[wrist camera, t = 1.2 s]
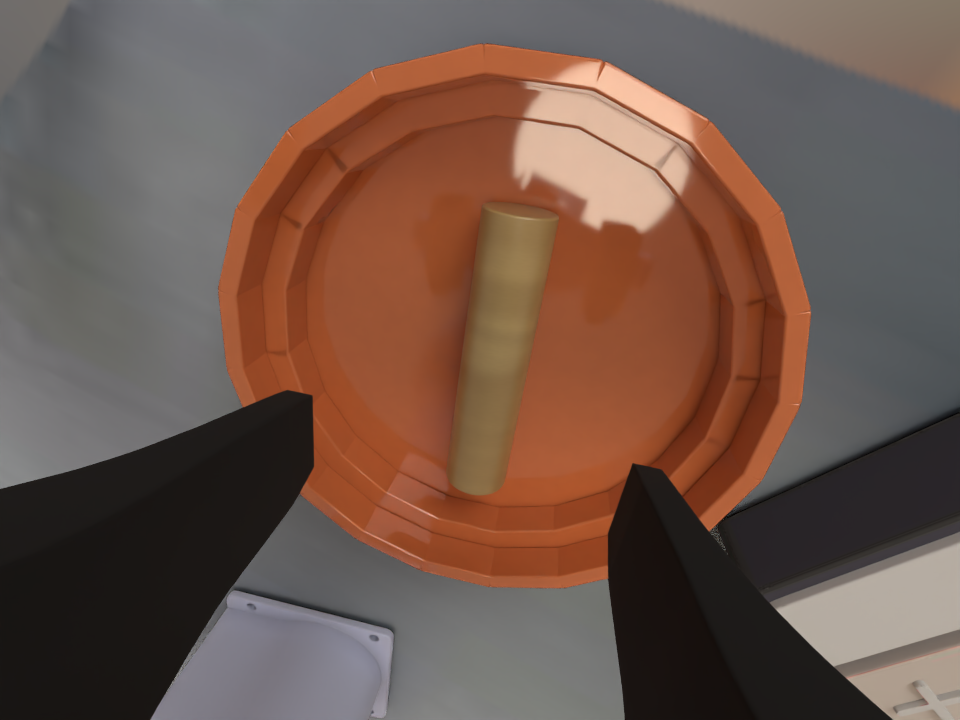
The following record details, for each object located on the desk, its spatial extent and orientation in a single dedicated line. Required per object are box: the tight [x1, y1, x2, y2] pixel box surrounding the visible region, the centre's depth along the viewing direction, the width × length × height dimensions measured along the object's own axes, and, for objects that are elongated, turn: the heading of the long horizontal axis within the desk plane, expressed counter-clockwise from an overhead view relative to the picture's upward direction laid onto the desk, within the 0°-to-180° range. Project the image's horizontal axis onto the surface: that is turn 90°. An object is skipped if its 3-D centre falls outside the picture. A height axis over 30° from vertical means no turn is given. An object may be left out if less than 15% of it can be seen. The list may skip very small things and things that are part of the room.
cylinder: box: [446, 202, 559, 495], centre depth 16 cm, size 10×2×2 cm, turn 172°
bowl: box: [218, 43, 811, 588], centre depth 16 cm, size 17×17×4 cm
